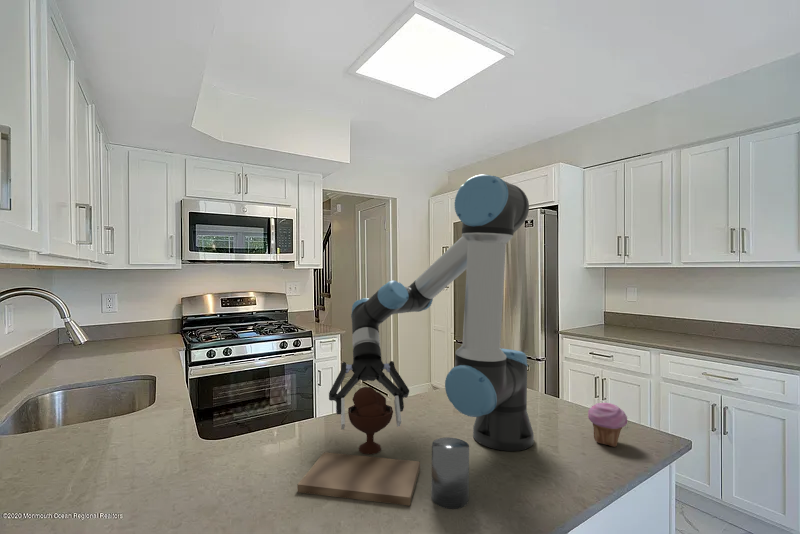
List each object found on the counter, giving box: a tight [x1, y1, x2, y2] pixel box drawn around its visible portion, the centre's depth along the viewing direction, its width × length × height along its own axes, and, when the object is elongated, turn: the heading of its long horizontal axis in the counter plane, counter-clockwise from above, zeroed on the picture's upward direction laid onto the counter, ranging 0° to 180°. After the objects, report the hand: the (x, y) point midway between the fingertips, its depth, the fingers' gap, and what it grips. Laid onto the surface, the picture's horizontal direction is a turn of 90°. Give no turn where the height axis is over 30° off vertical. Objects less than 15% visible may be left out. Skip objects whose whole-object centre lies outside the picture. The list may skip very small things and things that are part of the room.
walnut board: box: [296, 451, 421, 507], centre depth 82 cm, size 22×14×2 cm, turn 80°
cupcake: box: [587, 402, 628, 448], centre depth 101 cm, size 9×9×10 cm
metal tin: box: [430, 436, 470, 510], centre depth 76 cm, size 7×7×10 cm
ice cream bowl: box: [347, 386, 394, 455], centre depth 96 cm, size 11×11×15 cm
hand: (371, 425), depth 94 cm, fingers open, 12 cm apart
